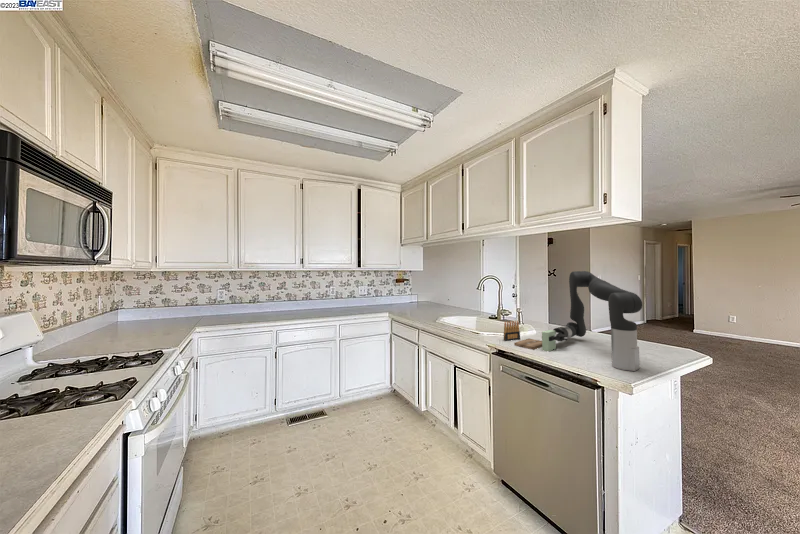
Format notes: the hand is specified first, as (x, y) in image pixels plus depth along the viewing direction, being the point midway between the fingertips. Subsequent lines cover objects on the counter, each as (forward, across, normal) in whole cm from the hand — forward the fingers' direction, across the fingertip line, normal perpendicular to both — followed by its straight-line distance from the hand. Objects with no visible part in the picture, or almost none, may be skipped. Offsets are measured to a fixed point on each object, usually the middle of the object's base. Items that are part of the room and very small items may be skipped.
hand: (546, 338), depth 160 cm
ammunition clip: (-6, -25, +7) cm, 27 cm away
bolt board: (-4, -11, +6) cm, 13 cm away
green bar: (-3, 0, +7) cm, 7 cm away
